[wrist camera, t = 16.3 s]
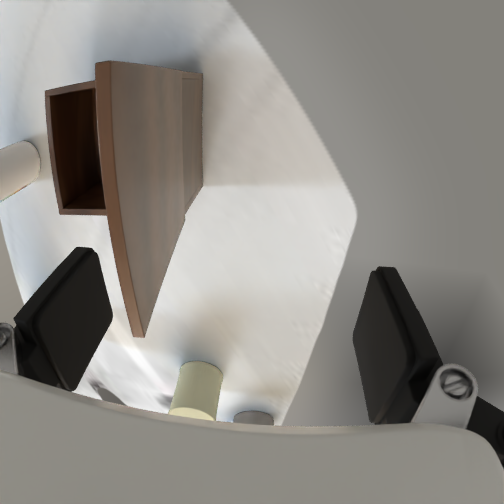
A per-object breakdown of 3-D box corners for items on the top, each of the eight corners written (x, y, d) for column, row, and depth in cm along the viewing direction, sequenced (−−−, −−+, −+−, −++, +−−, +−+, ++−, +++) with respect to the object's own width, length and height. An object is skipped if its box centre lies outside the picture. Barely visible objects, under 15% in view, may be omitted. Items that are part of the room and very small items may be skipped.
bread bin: (97, 185, 44) (59, 214, 35) (90, 84, 36) (44, 90, 27) (202, 186, 43) (182, 218, 34) (203, 73, 36) (179, 70, 26)
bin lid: (132, 337, 19) (144, 338, 19) (94, 62, 11) (110, 60, 11) (178, 220, 34) (185, 220, 34) (174, 70, 26) (182, 70, 26)
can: (201, 391, 67) (192, 436, 56) (171, 369, 64) (157, 415, 53) (232, 379, 64) (225, 427, 53) (201, 355, 60) (189, 404, 50)
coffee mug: (271, 410, 69) (270, 446, 60) (275, 429, 74) (274, 462, 65) (216, 410, 71) (210, 445, 62) (224, 429, 75) (219, 461, 67)
